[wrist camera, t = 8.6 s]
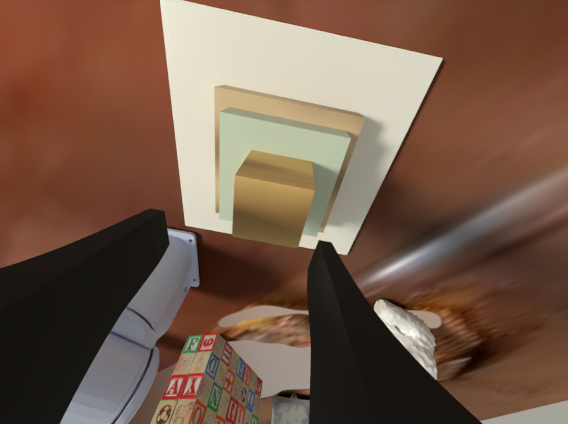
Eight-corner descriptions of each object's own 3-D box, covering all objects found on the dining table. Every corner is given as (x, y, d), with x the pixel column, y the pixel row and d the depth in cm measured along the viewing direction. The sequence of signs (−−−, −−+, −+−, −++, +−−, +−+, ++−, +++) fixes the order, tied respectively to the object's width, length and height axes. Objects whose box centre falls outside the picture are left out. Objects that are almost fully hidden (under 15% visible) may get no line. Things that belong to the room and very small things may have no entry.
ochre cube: (298, 211, 16) (297, 248, 13) (246, 201, 16) (231, 236, 13) (312, 161, 14) (314, 190, 10) (251, 149, 14) (234, 175, 10)
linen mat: (346, 252, 24) (346, 255, 24) (187, 223, 23) (185, 225, 23) (439, 58, 14) (442, 58, 13) (163, -3, 13) (159, -5, 13)
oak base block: (321, 220, 21) (323, 232, 20) (222, 201, 21) (215, 212, 19) (358, 112, 16) (365, 118, 14) (224, 84, 15) (214, 86, 14)
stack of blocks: (263, 380, 47) (252, 465, 37) (238, 381, 49) (221, 463, 39) (218, 331, 37) (185, 432, 26) (187, 334, 38) (145, 431, 28)
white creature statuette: (377, 295, 28) (418, 420, 18) (441, 304, 28) (518, 434, 18) (354, 331, 33) (376, 443, 23) (408, 339, 33) (453, 454, 23)
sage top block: (315, 222, 19) (316, 236, 17) (226, 205, 19) (219, 218, 17) (345, 130, 14) (351, 138, 13) (229, 106, 14) (219, 111, 12)
